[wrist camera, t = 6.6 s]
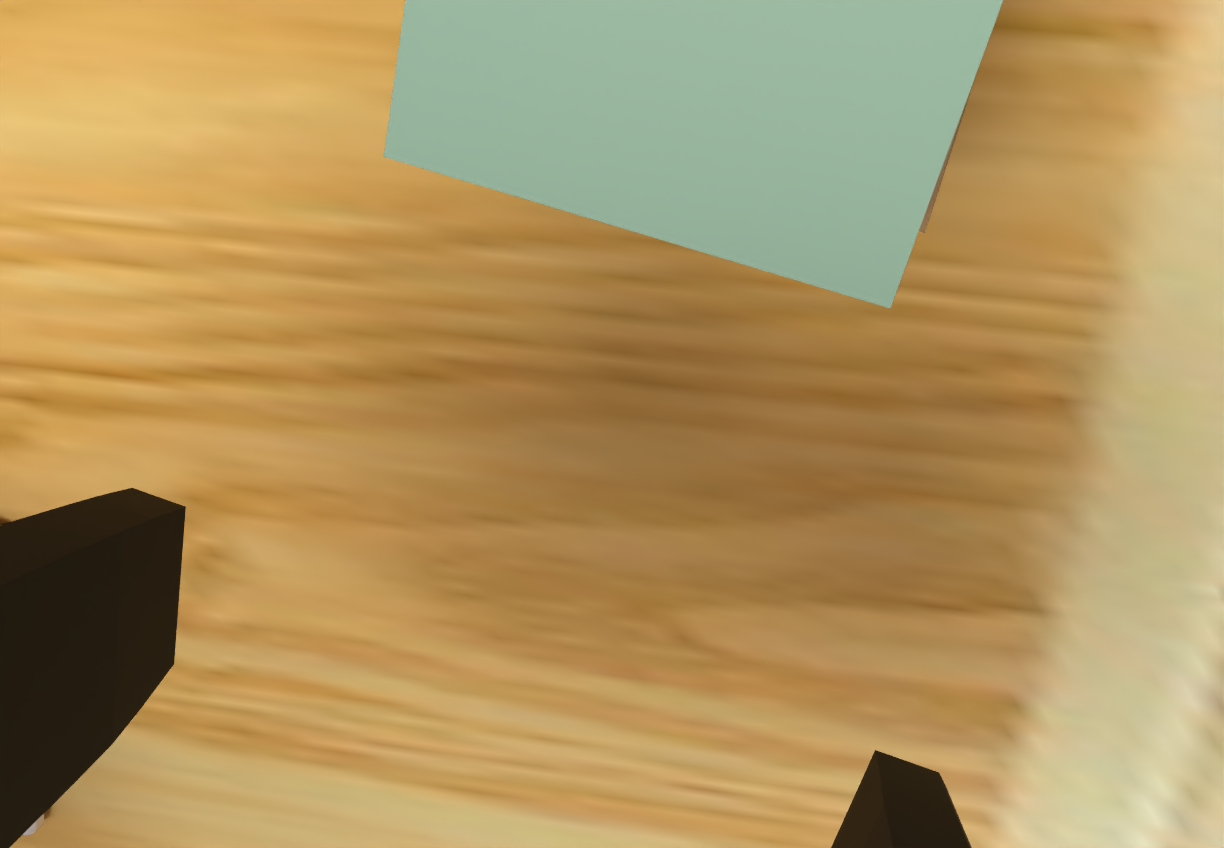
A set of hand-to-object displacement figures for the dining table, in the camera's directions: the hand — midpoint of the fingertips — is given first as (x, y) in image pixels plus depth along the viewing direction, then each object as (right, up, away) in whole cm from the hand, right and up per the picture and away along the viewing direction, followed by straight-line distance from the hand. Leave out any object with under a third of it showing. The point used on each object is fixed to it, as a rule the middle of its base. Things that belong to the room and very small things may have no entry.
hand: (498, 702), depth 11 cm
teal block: (+3, +8, +1) cm, 8 cm away
